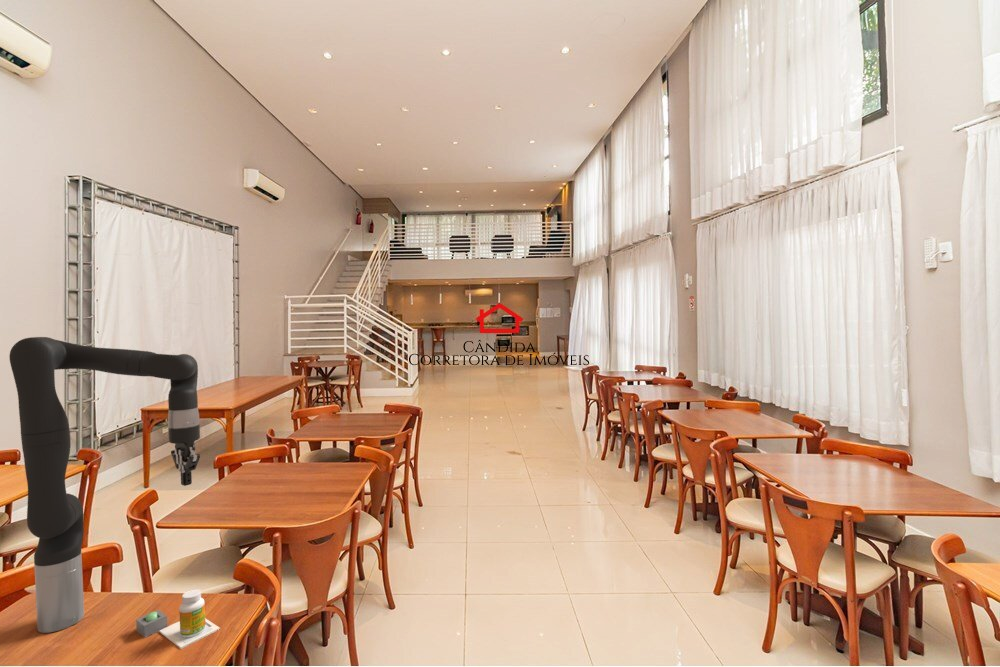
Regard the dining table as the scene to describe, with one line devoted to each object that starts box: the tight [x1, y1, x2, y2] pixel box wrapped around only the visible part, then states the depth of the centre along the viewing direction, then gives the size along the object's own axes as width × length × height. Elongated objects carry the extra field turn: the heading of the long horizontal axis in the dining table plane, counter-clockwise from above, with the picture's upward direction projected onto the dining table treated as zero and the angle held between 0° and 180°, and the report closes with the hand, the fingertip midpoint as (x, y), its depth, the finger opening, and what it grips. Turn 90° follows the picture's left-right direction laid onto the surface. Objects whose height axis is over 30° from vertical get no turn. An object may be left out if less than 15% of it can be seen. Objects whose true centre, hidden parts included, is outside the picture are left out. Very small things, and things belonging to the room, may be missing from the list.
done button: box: [145, 611, 157, 623], centre depth 126 cm, size 2×2×3 cm
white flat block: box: [158, 617, 221, 650], centre depth 125 cm, size 12×9×1 cm
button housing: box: [135, 609, 168, 638], centre depth 126 cm, size 5×5×3 cm
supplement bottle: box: [178, 588, 206, 638], centre depth 124 cm, size 5×5×10 cm
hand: (186, 484), depth 141 cm, fingers closed
